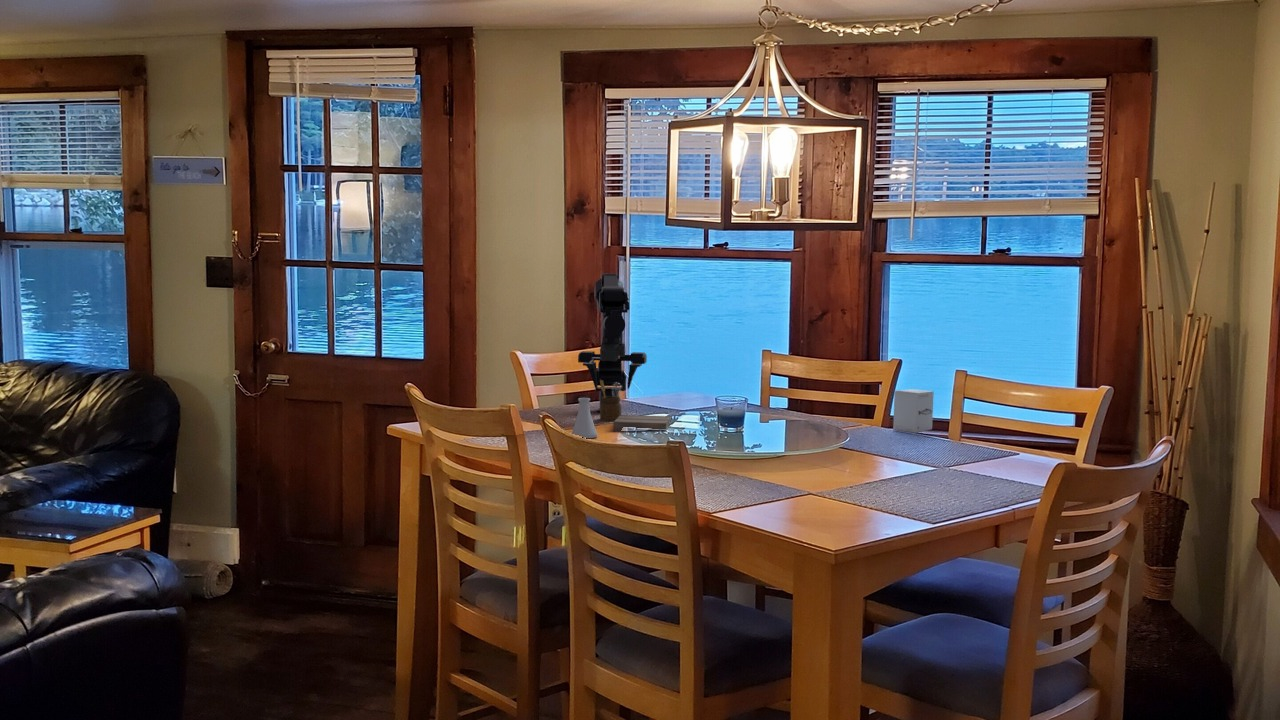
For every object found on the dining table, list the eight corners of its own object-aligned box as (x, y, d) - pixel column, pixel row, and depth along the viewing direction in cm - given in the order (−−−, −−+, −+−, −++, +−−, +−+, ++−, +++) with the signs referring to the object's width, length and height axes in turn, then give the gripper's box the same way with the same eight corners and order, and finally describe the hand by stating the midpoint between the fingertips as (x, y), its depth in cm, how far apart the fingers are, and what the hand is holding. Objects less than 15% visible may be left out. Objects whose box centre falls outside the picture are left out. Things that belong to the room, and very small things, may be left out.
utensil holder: (625, 422, 321) (625, 379, 320) (606, 423, 318) (606, 380, 316) (613, 419, 326) (614, 377, 325) (595, 421, 322) (595, 379, 321)
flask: (567, 435, 296) (567, 397, 295) (594, 434, 298) (594, 396, 297) (573, 439, 289) (573, 400, 288) (601, 438, 291) (601, 399, 290)
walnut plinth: (620, 423, 318) (620, 414, 318) (670, 425, 316) (670, 416, 316) (613, 431, 304) (613, 421, 304) (665, 432, 302) (665, 423, 302)
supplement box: (916, 442, 291) (917, 392, 290) (892, 438, 297) (893, 390, 296) (932, 439, 296) (934, 390, 295) (908, 435, 302) (910, 388, 301)
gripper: (574, 334, 313) (574, 390, 314) (642, 335, 311) (641, 392, 312) (581, 331, 324) (581, 386, 325) (647, 332, 322) (646, 387, 323)
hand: (612, 388), depth 321 cm, fingers open, 9 cm apart
